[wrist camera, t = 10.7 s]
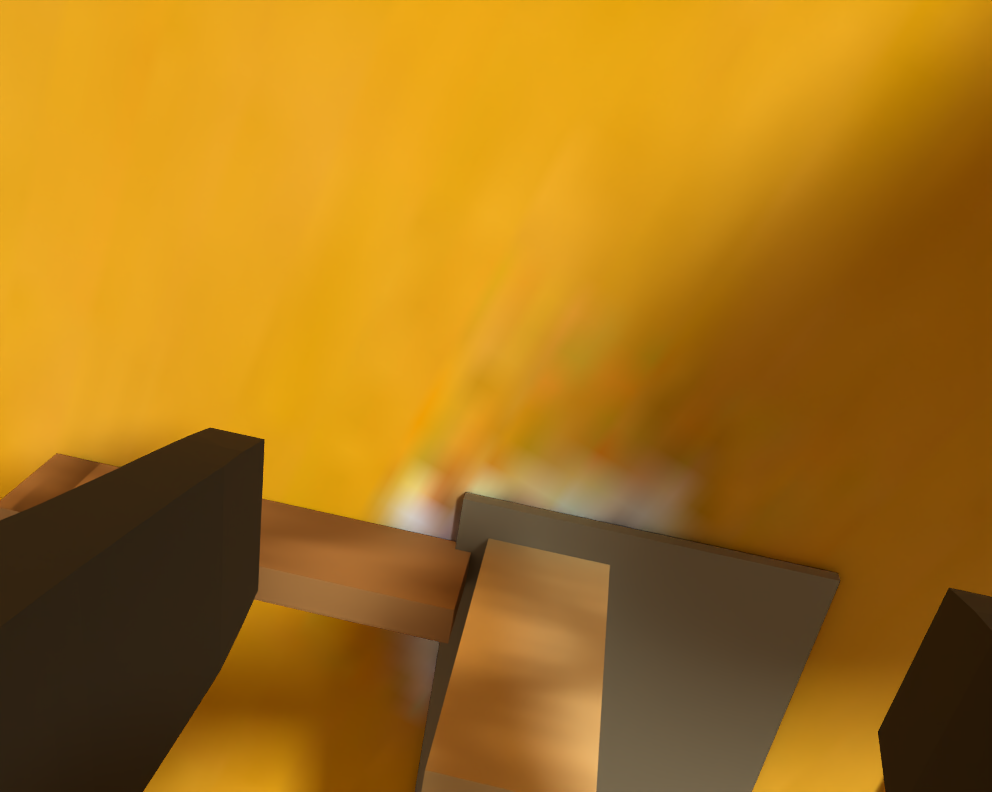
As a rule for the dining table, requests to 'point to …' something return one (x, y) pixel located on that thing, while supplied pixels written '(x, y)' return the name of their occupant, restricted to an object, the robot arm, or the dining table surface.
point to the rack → (319, 559)
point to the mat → (667, 646)
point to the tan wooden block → (525, 678)
